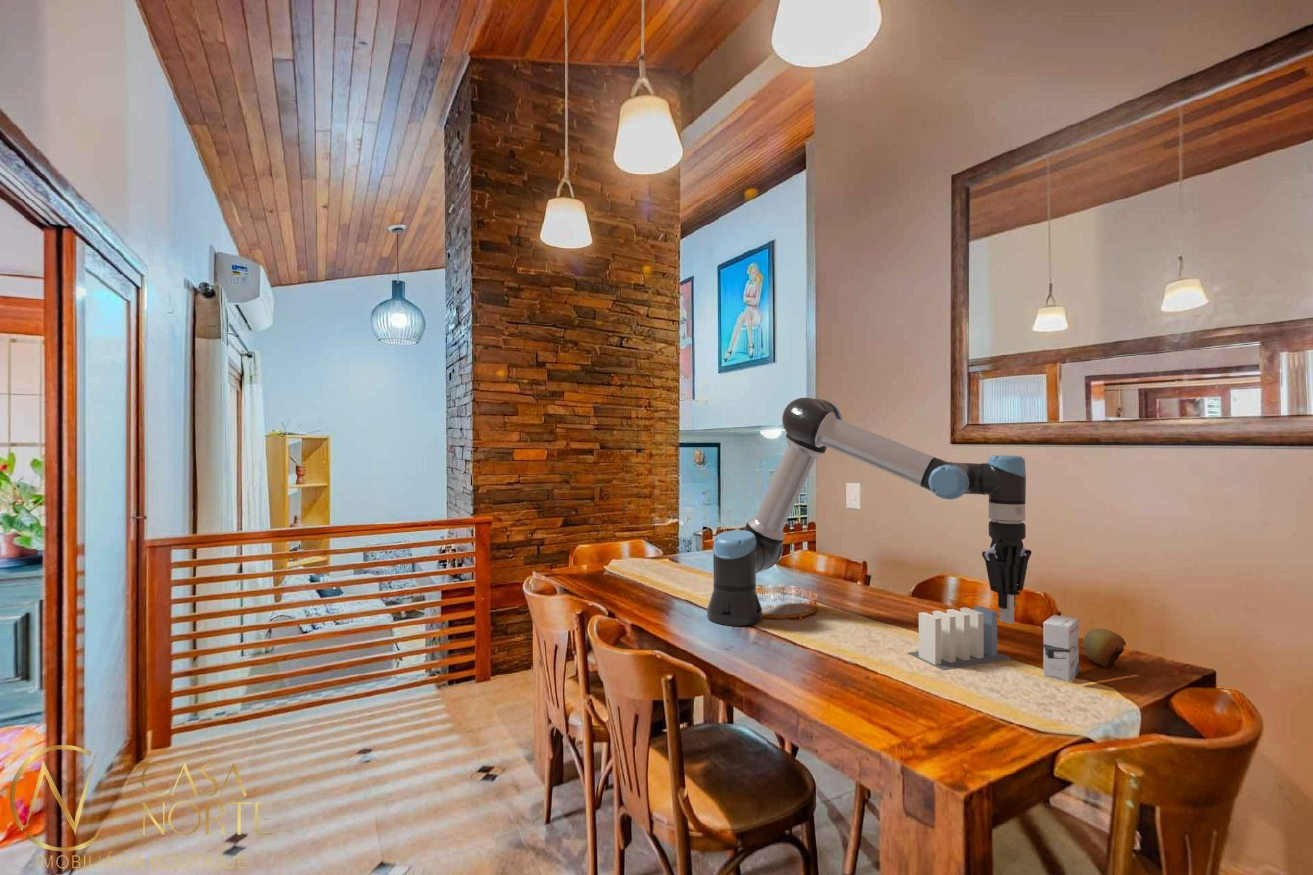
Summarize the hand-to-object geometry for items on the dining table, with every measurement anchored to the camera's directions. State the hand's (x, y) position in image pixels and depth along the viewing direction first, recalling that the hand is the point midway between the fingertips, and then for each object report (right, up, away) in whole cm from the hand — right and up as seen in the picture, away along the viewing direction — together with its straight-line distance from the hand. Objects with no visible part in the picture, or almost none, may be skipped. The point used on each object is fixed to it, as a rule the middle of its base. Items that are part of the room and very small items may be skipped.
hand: (1006, 621), depth 143 cm
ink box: (+3, -7, -15) cm, 17 cm away
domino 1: (-21, -6, -7) cm, 23 cm away
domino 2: (-17, -6, -6) cm, 20 cm away
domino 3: (-14, -6, -5) cm, 16 cm away
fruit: (+16, -7, -9) cm, 20 cm away
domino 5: (-6, -6, -2) cm, 9 cm away
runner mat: (-13, -7, -5) cm, 16 cm away
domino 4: (-10, -6, -3) cm, 12 cm away
